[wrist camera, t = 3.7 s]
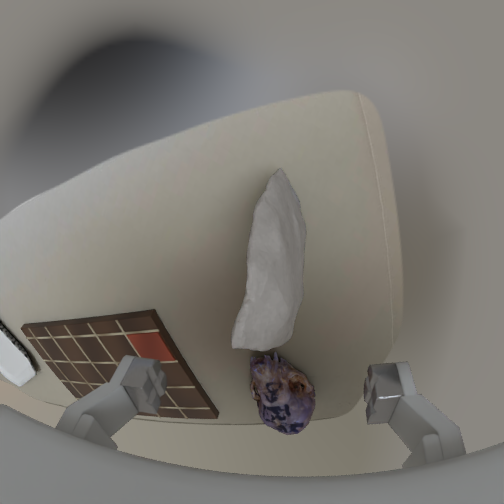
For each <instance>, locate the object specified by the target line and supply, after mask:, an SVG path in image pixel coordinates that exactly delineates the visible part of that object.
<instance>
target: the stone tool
mask: <svg viewBox="0 0 504 504" xmlns="http://www.w3.org/2000/svg"><path fill="white" fill-rule="evenodd" d="M300 208H301V206H300V201H299V199H298V197H297V195H296V193H295V191H294V189H293V188H292V186H291V185H290V183H289V180H288V179H287V177H286V174H285V173H284V171H283V170H282V169H281V168H279V169H278V170H277V171H276V172H275V173H274V174H273V176H271V177H270V179H269V181H268V183H267V185H266V190H265V192H263V194H262V196H261V197H260V198H259V199H258V201H257V203H256V206H255V208H254V211H253V222H252V226H251V230H250V233H249V244H248V250H247V256H246V258H247V263H246V264H247V283H246V292H245V297H244V300H243V303H242V306H241V309H240V311H239V313H238V315H237V318H236V320H235V322H234V326H233V329H232V334H231V343H232V347H233V348H234V349H238V348H241V349H243V348H244V349H247V348H248V349H251V350H259V351H267V350H269V349H271V348H274V347H279V346H281V345H283V344H284V343H286V342H288V341H289V340H290V338H291V336H292V333H293V327H294V322H295V318H296V315H297V312H298V309H299V307H300V305H301V302H302V299H303V296H304V288H303V269H304V250H305V239H306V225H305V222H304V220H303V217H302V214H301V211H300Z"/></svg>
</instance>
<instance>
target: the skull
mask: <svg viewBox="0 0 504 504" xmlns="http://www.w3.org/2000/svg"><path fill="white" fill-rule="evenodd" d="M264 356H265V358H257V359H256V357H255V358H254V359H253V356H252V357H251V360H250V370H251V374H252V379H253V380H252V381H251V384H250V390H251V393H252V398H253V399H254V400H256V401H257V406H258V408H259V415H260V417H261V419H262V421H263V422H264V424H266V425H267V426H269V427H271V428H273V429H275V430H278V431H279V432H281V433H283V434H286V435H291V434H297V433H299V432H301V431H302V430H303V429H304V428H305V427H306V426H307V425H308V424H309V421H310V419H311V416H312V413H313V411H314V409H315V399H314V397H315V393H314V391H315V390H314V386H313V385H311V384H310V383H309V381H308V379H307V377H306V376H305V375H304V374H303V373H302V372H300V371H297V370H296V369H295V368H293V367H292V366H291V364H290V363H288V362H287V361H286V360H284V359H282V358H281V361H280V363H279V361H278V357H277V353H276V352H275V353H274V359H273V361H272V360H271V358H270V356H266V355H264ZM301 384H303V385H304V387H303V388H302V387H301ZM254 385H255V386H256V387H257V390H258V394H257V393H256V391H255V387H254ZM296 386H297V388H295V387H296Z"/></svg>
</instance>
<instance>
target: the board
mask: <svg viewBox="0 0 504 504" xmlns="http://www.w3.org/2000/svg"><path fill="white" fill-rule="evenodd" d="M21 330H22V331H23V333H24V334H25V336H26V338H27V339H28V340H29V341H30V343H31V344H32V345H33V347H34V348H35V349H36V351H37V352H38V353H39V355H40V356H41V357H42V358H43V361H45V362H46V364H47V365H48V366H49V367H50V369H51V370H52V371H53V372H54V373H55V375H56V376H57V377H58V378H59V379H60V381H61V382H62V383H63V384H64V385H65V386H66V388H67V389H68V390H69V391H70V392H71V393H72V394H73V395H74V396H75V398H76V399H77V400H79V399H81V398H82V397H84V396H86V395H87V394H89V393H90V392H92V391H93V390H95V389H97V388H98V387H100V386H101V385H103V384H104V383H106V382H108V383H109V382H110V380H111V378H112V376H113V375H114V373H115V371H116V369H117V367H118V366H119V364H120V362H121V360H122V358H123V357H124V356H126V355H130V356H137V357H143V358H149V359H156V360H160V363H161V365H162V367H161V370H162V371H164V372H165V374H166V376H167V388H166V391H165V394H164V395H162V396H161V397H160V400H161V404H160V407H159V409H158V412H157V414H151V413H145V412H139V411H138V412H139V413H138V414H136V415H144V416H156V417H171V418H186V419H188V418H195V419H218V415H219V412H218V410H217V409H216V407H215V406H214V405H213V403H212V402H211V400H210V399H209V397H208V396H207V394H206V393H205V391H204V390H203V388H202V387H201V385H200V384H199V382H198V381H197V379H196V378H195V376H194V375H193V373H192V371H191V370H190V368H189V367H188V365H187V364H186V362H185V360H184V359H183V357H182V355H181V354H180V352H179V351H178V349H177V347H176V346H175V344H174V342H173V341H172V339H171V337H170V336H169V334H168V332H167V331H166V329H165V327H164V325H163V324H162V322H161V320H160V318H159V317H158V315H157V313H156V311H155V310H147V311H139V312H132V313H124V314H116V315H107V316H99V317H90V318H81V319H72V320H62V321H52V322H42V323H31V324H24V325H23V326H22V327H21Z"/></svg>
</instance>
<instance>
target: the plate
mask: <svg viewBox="0 0 504 504" xmlns="http://www.w3.org/2000/svg"><path fill="white" fill-rule="evenodd" d="M0 372H1V373H2V374H3V375H4V376H5V377H6V378H7V379H8V380H9V381H11V382H12V383H14V384H16V385H18V386H23V385H24V384H25V383H26V382H27V381H29V380H30V379H31V378H32V377H34V376H35V375H36V370H35V368H34V366H33V364H32V362H31V360H30V358H29V356H28V354H27V352H26V350H25V349H24V348H23V347H22V346H21V345H20V344H19V343H18V342H17V341H16V339H15V338H14V337H13V336H12V335H11V334H10V333H9V332H8V331H7V330H6V328H5V327H4V326H3V325H2V324H1V323H0Z"/></svg>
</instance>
